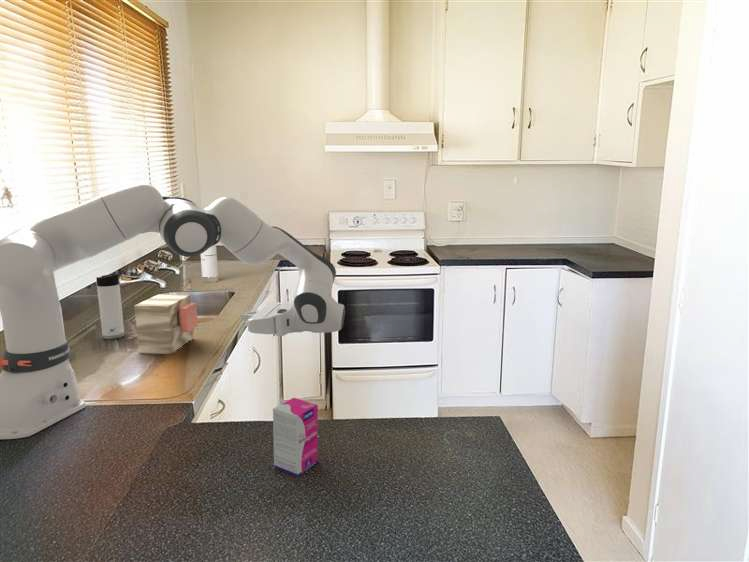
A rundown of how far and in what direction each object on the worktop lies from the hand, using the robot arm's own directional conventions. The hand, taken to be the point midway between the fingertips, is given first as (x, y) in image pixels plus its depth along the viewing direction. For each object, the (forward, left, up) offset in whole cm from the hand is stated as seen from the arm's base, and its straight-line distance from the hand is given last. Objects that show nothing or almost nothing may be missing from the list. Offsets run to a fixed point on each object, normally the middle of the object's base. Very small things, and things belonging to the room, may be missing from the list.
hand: (242, 316), depth 159 cm
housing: (0, +24, -10) cm, 26 cm away
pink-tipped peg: (0, +22, -4) cm, 23 cm away
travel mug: (+7, +45, -10) cm, 46 cm away
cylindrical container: (+90, +48, -10) cm, 102 cm away
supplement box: (-61, -31, -10) cm, 70 cm away
